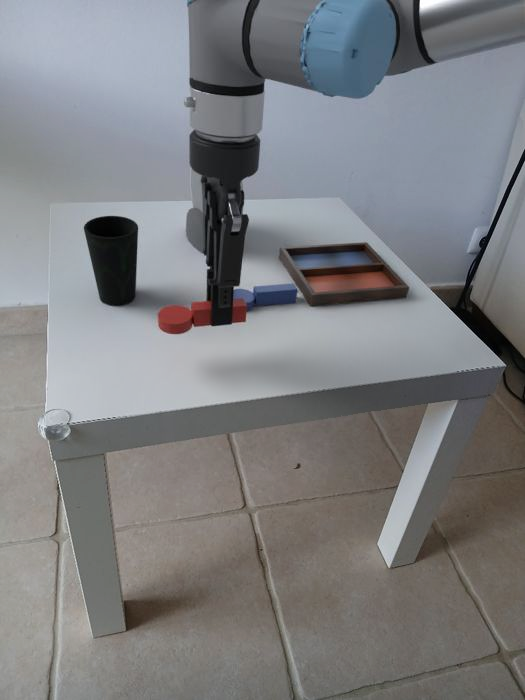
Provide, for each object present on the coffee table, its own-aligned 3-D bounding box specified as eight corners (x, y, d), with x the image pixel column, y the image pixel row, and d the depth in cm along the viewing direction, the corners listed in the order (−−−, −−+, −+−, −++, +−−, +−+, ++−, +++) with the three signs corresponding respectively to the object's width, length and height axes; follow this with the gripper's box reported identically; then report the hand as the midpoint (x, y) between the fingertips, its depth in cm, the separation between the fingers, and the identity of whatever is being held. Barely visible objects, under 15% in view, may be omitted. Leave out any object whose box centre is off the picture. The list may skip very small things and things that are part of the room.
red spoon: (240, 309, 72) (241, 292, 71) (248, 327, 69) (249, 310, 67) (156, 316, 69) (155, 299, 68) (160, 336, 66) (160, 319, 64)
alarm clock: (253, 254, 99) (261, 156, 88) (201, 260, 96) (203, 159, 84) (224, 219, 111) (228, 128, 100) (177, 223, 107) (176, 129, 96)
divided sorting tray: (364, 252, 104) (366, 242, 103) (406, 297, 92) (409, 287, 90) (278, 257, 99) (279, 247, 98) (310, 306, 87) (312, 295, 85)
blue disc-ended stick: (289, 292, 90) (291, 279, 88) (298, 306, 86) (300, 293, 85) (224, 298, 86) (225, 284, 85) (230, 312, 83) (231, 298, 82)
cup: (103, 281, 87) (96, 212, 80) (148, 287, 87) (144, 219, 79) (84, 305, 81) (74, 233, 74) (132, 313, 81) (127, 241, 73)
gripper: (177, 113, 60) (181, 291, 74) (204, 155, 49) (202, 355, 63) (241, 113, 62) (232, 286, 76) (281, 154, 51) (262, 348, 65)
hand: (218, 317), depth 69 cm, fingers closed on red spoon, 2 cm apart
